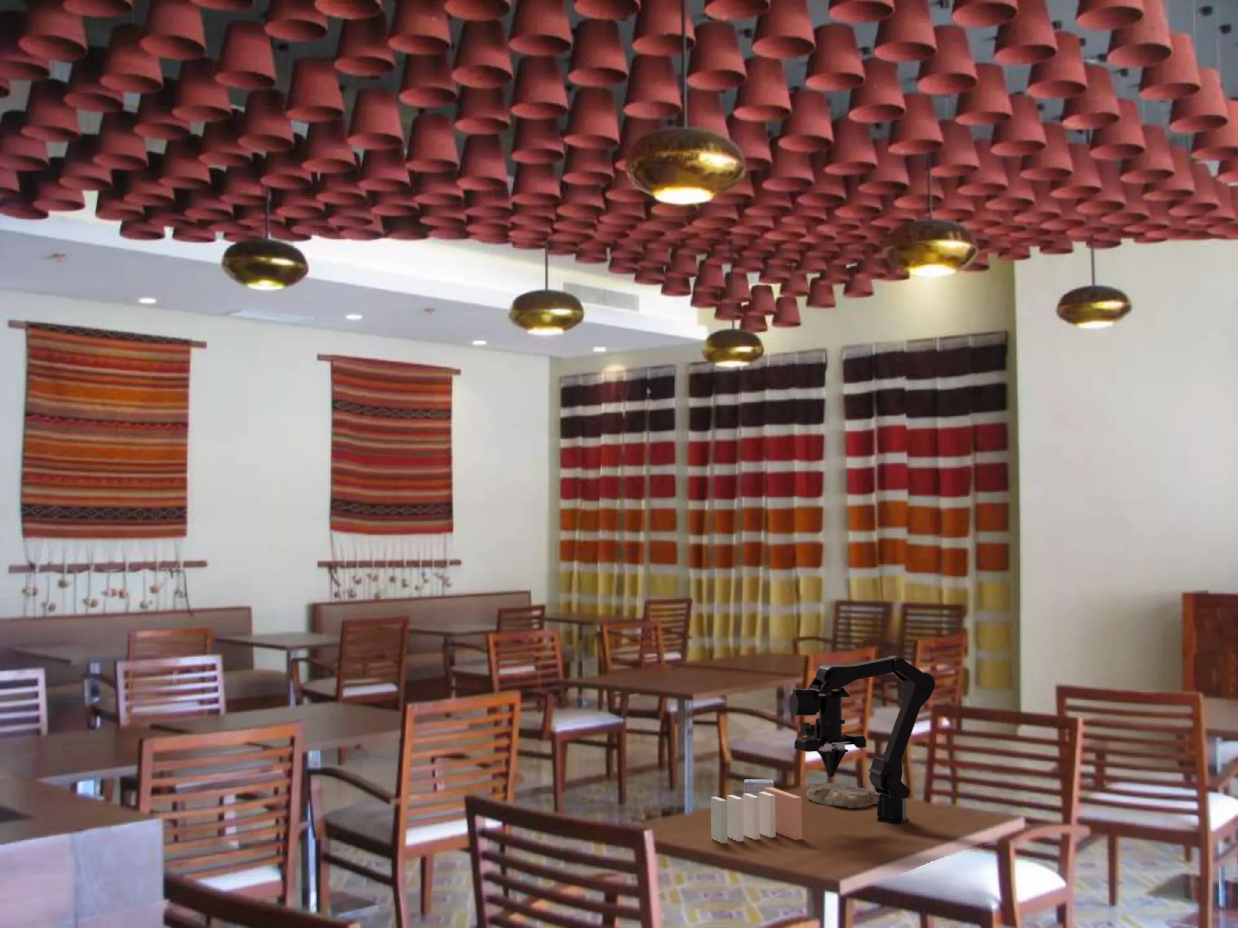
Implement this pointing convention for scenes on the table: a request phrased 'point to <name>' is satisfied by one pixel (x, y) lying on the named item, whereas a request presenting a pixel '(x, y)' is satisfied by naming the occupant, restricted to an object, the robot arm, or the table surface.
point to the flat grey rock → (842, 795)
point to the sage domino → (719, 819)
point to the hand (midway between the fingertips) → (830, 776)
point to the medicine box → (756, 786)
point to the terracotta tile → (787, 813)
